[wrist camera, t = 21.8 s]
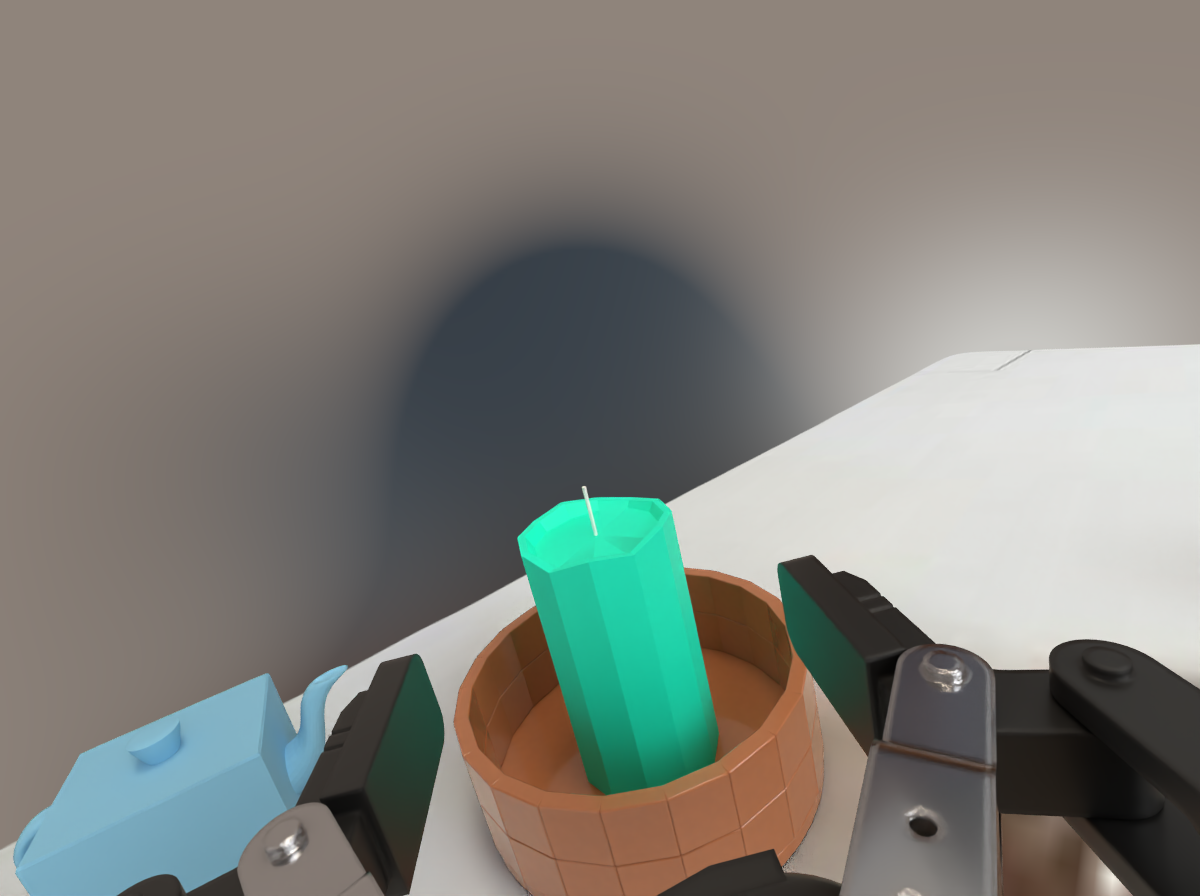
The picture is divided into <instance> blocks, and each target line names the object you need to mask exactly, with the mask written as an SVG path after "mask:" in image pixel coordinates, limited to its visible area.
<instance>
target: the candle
mask: <svg viewBox="0 0 1200 896" xmlns="http://www.w3.org/2000/svg"><path fill="white" fill-rule="evenodd" d="M582 490H583V494H584V497H585V499H582V500H574V501H567V502H561V503H560V504H558V505H557V506H555V507H554V508H552V509H551V510H549V511H548V512H546V513H545V514H543V515H542V516H541V517H539V518H538V519H536V520H535V521H533V522H532V524H530V526H528V527H527V529H525V530H524V531H523V532H522V533H521V534H520V535H519V536H518V543H519V548H520V552H521V557H522V560H523V563H524V566H525V570H526V573H527V577H528V580H529V584H530V587H531V590H532V594H533V597H534V600H535V604H536V607H537V610H538V614H539V617H540V620H541V624H542V627H543V631H544V634H545V637H546V641H547V644H548V647H549V651H550V654H551V657H552V661H553V664H554V668H555V671H556V674H557V678H558V681H559V684H560V688H561V691H562V694H563V698H564V701H565V704H566V708H567V711H568V715H569V718H570V721H571V725H572V728H573V731H574V735H575V738H576V741H577V745H578V748H579V752H580V755H581V758H582V762H583V765H584V768H585V772H586V775H587V778H588V782H590V783H591V784H592V785H593V786H595V787H596V788H597V789H599V790H600V791H601V792H603V793H604V794H605V795H610V794H616V793H622V792H627V791H633V790H639V789H644V788H650V787H656V786H661V785H664V784H667V783H669V782H671V781H673V780H676V779H678V778H680V777H683V776H685V775H687V774H689V773H692V772H694V771H696V770H699V769H701V768H703V767H705V766H708V765H710V764H712V763H715V758H716V751H717V744H718V737H719V730H718V726H717V721H716V716H715V712H714V707H713V702H712V698H711V693H710V688H709V684H708V679H707V674H706V670H705V665H704V660H703V656H702V651H701V646H700V642H699V637H698V632H697V628H696V623H695V618H694V614H693V609H692V604H691V600H690V595H689V590H688V586H687V581H686V576H685V572H684V567H683V562H682V558H681V553H680V548H679V544H678V539H677V534H676V530H675V525H674V520H673V516H672V511H671V510H670V509H669V508H668V507H667V506H666V505H665V504H664V503H663V502H661V500H659V499H652V498H635V497H597V498H588V494H587V490H586V487H585V486H583V487H582Z"/></svg>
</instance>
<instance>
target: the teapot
mask: <svg viewBox="0 0 1200 896" xmlns="http://www.w3.org/2000/svg"><path fill="white" fill-rule="evenodd" d="M347 668H348V666H347V665H343V666H340V667H337V668H334V669H332V670H330V671H328V672H326V673H324V674H322V675H321V676H319V677H318V678H316V679H315V680H314V681H313V682H312V683H311V684H310V685H309V686H308V687H307V689H306V691H305V692H304V695H303V698H302V701H301V724H300V729H299V732H298V734H296V732H295V729H294V727H293V725H292V723H291V721H290V718H289V716H288V714H287V712H286V710H285V707H284V705H283V703H282V701H281V699H280V697H279V694H278V692H277V690H276V688H275V686H274V683H273V681H272V679H271V677H270V675H269V674H268V673H266V674H264V675H261V676H259V677H257V678H254V679H252V680H250V681H247V682H245V683H243V684H240V685H238V686H235V687H233V688H231V689H229V690H226V691H224V692H222V693H220V694H217V695H215V696H212V697H210V698H208V699H205V700H203V701H201V702H198V703H196V704H194V705H191V706H189V707H187V708H184V709H182V710H180V711H178V712H175V713H173V714H171V715H168V716H166V717H164V718H161V719H159V720H157V721H155V722H153V723H150V724H148V725H145V726H143V727H141V728H138V729H136V730H134V731H132V732H129V733H127V734H125V735H122V736H120V737H118V738H116V739H113V740H111V741H109V742H106V743H104V744H102V745H100V746H97V747H95V748H93V749H91V750H88V751H86V752H84V753H82V754H80V755H79V758H78V759H77V761H76V763H75V765H74V767H73V768H72V770H71V772H70V774H69V775H68V777H67V779H66V781H65V782H64V784H63V786H62V788H61V790H60V791H59V793H58V795H57V797H56V798H55V800H54V802H53V804H52V805H51V806H49V807H48V808H46V809H44V810H43V811H41V812H40V813H39V814H38V815H36V816H35V817H34V818H33V819H32V820H31V821H30V822H29V824H28V825H27V826H26V827H25V829H24V830H23V832H22V833H21V835H20V837H19V839H18V841H17V843H16V846H15V849H14V856H13V859H14V864H15V866H16V873H15V874H16V875H17V877H18V878H19V880H20V881H21V883H22V884H23V886H24V887H25V889H26V890H27V892H28V893H29V895H30V896H117V895H119V894H120V893H122V892H123V891H125V890H126V889H128V888H129V887H131V886H133V885H134V884H136V883H138V882H140V881H142V880H145V879H147V878H150V877H153V876H156V875H161V874H170V875H174V876H175V877H177V878H178V880H179V881H180V883H181V885H182V886H183V888H184V890H185V892H186V893H188V892H190V891H192V890H194V889H196V888H198V887H199V886H201V885H203V884H205V883H207V882H209V881H211V880H213V879H215V878H217V877H219V876H221V875H223V874H225V873H227V872H229V871H231V870H233V869H234V868H236V867H238V863H239V860H240V857H241V855H242V853H243V851H244V849H245V848H246V846H247V845H248V843H249V842H250V841H251V839H252V838H253V837H254V836H255V835H256V834H257V833H258V832H259V831H260V830H261V829H262V828H263V827H264V826H265V825H266V824H267V823H269V822H270V821H271V820H273V819H274V818H275V817H277V816H278V815H280V814H282V813H283V812H285V811H287V810H289V809H291V808H293V807H295V806H296V804H297V802H298V799H299V797H300V795H301V793H302V791H303V789H304V787H305V785H306V783H307V781H308V779H309V777H310V775H311V773H312V771H313V769H314V767H315V765H316V763H317V761H318V759H319V757H320V755H321V753H322V752H324V746H325V722H324V708H325V701H326V697H327V694H328V693H329V691H330V689H331V687H332V685H333V684H334V683H335V682H336V681H337V680H338V678H339V677H340V676H341V675H342V674H343V673H344V672H345V671H346V670H347Z"/></svg>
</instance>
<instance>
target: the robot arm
mask: <svg viewBox="0 0 1200 896" xmlns="http://www.w3.org/2000/svg"><path fill="white" fill-rule="evenodd" d="M778 578H779V584H780V591H781V597H782V603H783V609H784V616H785V622H786V627H787V631H788V634H789V637H790V640H791V643H792V645H793V647H794V649H795V651H796V653H797V655H798V656H799V658H800V659H801V660H802V662H803V663H804V665H805V666H806V668H807V669H808V671H809V672H810V673H811V675H812V676H813V678H814V679H815V681H816V682H817V684H818V685H819V687H820V688H821V689H822V691H823V692H824V694H825V695H826V697H827V698H828V700H829V701H830V703H831V704H832V705H833V707H834V708H835V710H836V711H837V713H838V714H839V716H840V717H841V718H842V720H843V721H844V723H845V724H846V726H847V727H848V729H849V730H850V732H851V733H852V734H853V736H854V737H855V739H856V740H857V742H858V743H859V745H860V746H861V747H862V749H863V750H864V752H865V753H866V755H867V756H868V761H867V765H866V770H865V775H864V780H863V785H862V789H861V794H860V799H859V804H858V809H857V813H856V818H855V823H854V828H853V833H852V837H851V842H850V847H849V852H848V857H847V862H846V866H845V871H844V876H843V881H842V884H840V883H838V882H835V881H832V880H829V879H825V878H822V877H818V876H814V875H808V874H800V873H784V872H783V869H782V867H781V864H780V862H779V859H778V857H777V855H776V852H775V850H774V849H770V850H767V851H763V852H759V853H755V854H752V855H748V856H744V857H740V858H736V859H733V860H729V861H725V862H721V863H717V864H714V865H710V866H708V867H706V868H704V869H702V870H701V871H699V872H697V873H695V874H694V875H692V876H690V877H688V878H687V879H685V880H683V881H681V882H680V883H678V884H676V885H674V886H673V887H671V888H669V889H667V890H666V891H664V892H662V893H660V894H658V895H657V896H1003V857H1002V814H1001V813H1004V814H1024V815H1045V816H1062V817H1063V818H1064V819H1065V820H1066V821H1067V822H1068V824H1069V825H1070V826H1071V827H1072V828H1073V829H1074V830H1075V831H1076V832H1077V834H1078V835H1079V836H1080V837H1081V838H1082V839H1083V840H1084V841H1085V842H1086V844H1087V845H1088V846H1089V847H1090V848H1091V849H1092V850H1093V851H1094V853H1095V854H1096V855H1097V856H1098V857H1099V858H1100V859H1101V860H1102V861H1103V863H1104V864H1105V865H1106V866H1107V867H1108V868H1109V869H1110V870H1111V871H1112V873H1113V874H1114V875H1115V876H1116V877H1117V878H1118V879H1119V880H1120V881H1121V883H1122V884H1123V885H1124V886H1125V887H1126V888H1127V889H1128V890H1129V892H1130V893H1131V894H1132V895H1133V896H1200V689H1198V688H1197V687H1195V686H1194V685H1192V684H1191V683H1189V682H1188V681H1186V680H1185V679H1183V678H1182V677H1180V676H1179V675H1177V674H1176V673H1174V672H1173V671H1171V670H1170V669H1168V668H1167V667H1165V666H1164V665H1162V664H1161V663H1159V662H1158V661H1156V660H1154V659H1153V658H1151V657H1150V656H1148V655H1146V654H1144V653H1142V652H1140V651H1138V650H1136V649H1133V648H1130V647H1128V646H1124V645H1121V644H1117V643H1113V642H1108V641H1101V640H1089V639H1085V640H1073V641H1068V642H1065V643H1062V644H1060V645H1058V646H1056V647H1055V648H1054V649H1053V650H1052V651H1051V653H1050V656H1049V670H995V669H992V668H991V667H990V665H989V664H988V663H987V662H986V661H985V660H984V659H982V658H981V657H979V656H978V655H976V654H974V653H972V652H970V651H968V650H965V649H963V648H959V647H956V646H951V645H945V644H936V643H934V642H933V641H932V640H931V639H930V638H929V637H928V636H927V635H926V634H924V633H923V632H922V631H921V630H920V629H919V628H918V627H917V626H916V625H915V624H913V623H912V622H911V621H910V620H909V619H908V618H907V617H906V616H905V615H904V614H902V613H901V612H900V611H899V610H898V609H897V608H896V607H895V608H894V607H893V605H892V604H891V603H890V602H889V601H888V600H887V599H886V598H885V597H884V596H881V595H880V593H879V592H878V591H877V590H876V589H875V588H874V587H873V586H872V585H870V584H869V583H868V582H867V581H866V580H864V579H862V578H859V577H857V576H855V575H852V574H850V573H847V572H845V571H841V572H837V573H833V574H832V573H831V572H830V571H829V570H828V569H827V568H826V567H825V566H824V565H823V564H822V563H821V562H820V561H819V560H818V559H817V558H816V557H815V556H813V555H809V556H805V557H801V558H797V559H793V560H789V561H785V562H781V563H779V564H778ZM443 744H444V723H443V717H442V713H441V710H440V707H439V704H438V702H437V699H436V696H435V693H434V691H433V688H432V685H431V682H430V680H429V677H428V674H427V671H426V669H425V666H424V663H423V661H422V659H421V657H420V656H419V655H418V654H413V655H409V656H405V657H401V658H397V659H393V660H389V661H385V662H382V663H381V664H380V665H379V667H378V669H377V671H376V673H375V676H374V678H373V680H372V682H371V685H370V687H369V689H368V690H367V691H363V692H359V693H358V694H357V696H356V697H355V698H354V699H353V700H352V701H351V702H350V703H349V704H348V705H347V706H346V707H345V709H344V710H343V711H342V712H341V714H340V716H339V718H338V720H337V722H336V724H335V726H334V728H333V730H332V735H331V736H329V738H328V740H327V742H326V744H325V746H324V752H322V753H321V755H320V757H319V759H318V761H317V763H316V765H315V767H314V769H313V771H312V773H311V775H310V777H309V779H308V781H307V783H306V785H305V787H304V789H303V791H302V793H301V795H300V797H299V799H298V802H297V804H296V806H295V807H293V808H291V809H289V810H287V811H285V812H283V813H282V814H280V815H278V816H277V817H275V818H274V819H273V820H271V821H270V822H269V823H267V824H266V825H265V826H264V827H263V828H262V829H261V830H260V831H259V832H258V833H257V834H256V835H255V836H254V837H253V838H252V839H251V841H250V842H249V843H248V845H247V846H246V848H245V849H244V851H243V853H242V855H241V857H240V860H239V863H238V867H236V868H234V869H233V870H231V871H229V872H227V873H225V874H223V875H221V876H219V877H217V878H215V879H213V880H211V881H209V882H207V883H205V884H203V885H201V886H199V887H198V888H196V889H194V890H192V891H190V892H188V893H186V892H185V890H184V888H183V886H182V885H181V883H180V881H179V880H178V878H177V877H175V876H174V875H170V874H161V875H156V876H153V877H150V878H147V879H145V880H142V881H140V882H138V883H136V884H134V885H133V886H131V887H129V888H128V889H126V890H125V891H123V892H122V893H120V894H119V895H117V896H403V895H407V894H409V892H410V888H411V884H412V879H413V875H414V871H415V866H416V862H417V857H418V853H419V849H420V844H421V840H422V836H423V831H424V827H425V823H426V818H427V814H428V809H429V805H430V801H431V796H432V792H433V788H434V783H435V779H436V775H437V770H438V766H439V761H440V757H441V753H442V748H443Z"/></svg>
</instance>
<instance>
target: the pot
mask: <svg viewBox="0 0 1200 896" xmlns="http://www.w3.org/2000/svg"><path fill="white" fill-rule="evenodd" d="M684 572H685V576H686V581H687V586H688V590H689V595H690V600H691V604H692V609H693V614H694V618H695V623H696V628H697V632H698V637H699V642H700V646H701V651H702V656H703V660H704V665H705V670H706V674H707V679H708V684H709V688H710V693H711V698H712V702H713V707H714V712H715V716H716V721H717V726H718V730H719V737H718V744H717V751H716V758H715V763H712V764H710V765H708V766H705V767H703V768H701V769H699V770H696V771H694V772H692V773H689V774H687V775H685V776H683V777H680V778H678V779H676V780H673V781H671V782H669V783H667V784H664V785H661V786H656V787H650V788H644V789H639V790H633V791H627V792H622V793H616V794H610V795H605V794H604V793H603V792H601V791H600V790H599V789H597V788H596V787H595V786H593V785H592V784H591V783H590V782H588V778H587V775H586V772H585V768H584V765H583V762H582V758H581V755H580V752H579V748H578V745H577V741H576V738H575V735H574V731H573V728H572V725H571V721H570V718H569V715H568V711H567V708H566V704H565V701H564V698H563V694H562V691H561V688H560V684H559V681H558V678H557V674H556V671H555V668H554V664H553V661H552V657H551V654H550V651H549V647H548V644H547V641H546V637H545V634H544V631H543V627H542V624H541V620H540V617H539V614H538V610H537V607H536V606H534V607H532V608H531V609H529V610H528V611H527V612H525V613H524V614H523V615H521V616H520V617H519V618H517V619H516V620H515V621H513V622H512V623H510V624H509V625H508V626H506V627H505V628H504V629H502V631H500V632H499V633H498V634H497V635H496V637H495V638H494V639H493V640H492V641H491V642H490V643H489V644H488V645H487V646H486V647H485V649H484V650H483V651H482V652H481V653H480V654H479V655H478V656H477V658H476V659H475V661H474V662H473V664H472V666H471V668H470V670H469V672H468V674H467V675H466V677H465V679H464V681H463V683H462V685H461V686H460V689H459V692H458V699H457V705H456V711H455V717H454V728H455V731H456V735H457V738H458V742H459V745H460V749H461V752H462V756H463V759H464V762H465V764H466V767H467V770H468V773H469V775H470V778H471V781H472V783H473V786H474V789H475V792H476V794H477V797H478V800H479V802H480V805H481V808H482V811H483V813H484V816H485V819H486V822H487V824H488V827H489V830H490V833H491V835H492V838H493V841H494V843H495V846H496V848H497V850H498V851H499V853H500V854H501V856H502V858H503V860H504V862H505V864H506V866H507V868H508V869H509V870H510V872H511V873H512V874H513V875H514V877H515V878H516V879H517V881H518V882H519V883H520V884H521V885H522V886H523V887H524V888H525V889H526V890H527V891H529V892H530V893H531V894H532V895H533V896H657V895H658V894H660V893H662V892H664V891H666V890H667V889H669V888H671V887H673V886H674V885H676V884H678V883H680V882H681V881H683V880H685V879H687V878H688V877H690V876H692V875H694V874H695V873H697V872H699V871H701V870H702V869H704V868H706V867H708V866H710V865H714V864H717V863H721V862H725V861H729V860H733V859H736V858H740V857H744V856H748V855H752V854H755V853H759V852H763V851H767V850H770V849H774V850H775V852H776V855H777V857H778V859H779V862H780V864H781V867H782V866H783V865H784V864H785V863H786V862H787V860H788V859H789V858H790V857H791V855H792V854H793V853H794V851H795V850H796V849H797V848H798V846H799V845H800V844H801V842H802V840H803V838H804V836H805V834H806V833H807V831H808V829H809V827H810V825H811V824H812V821H813V819H814V816H815V813H816V810H817V808H818V805H819V802H820V797H821V792H822V786H823V781H824V759H823V753H824V747H823V741H822V734H821V728H820V721H819V715H818V708H817V703H816V696H815V689H814V683H813V677H812V675H811V673H810V672H809V671H808V669H807V668H806V666H805V665H804V663H803V662H802V660H801V659H800V658H799V656H798V655H797V653H796V651H795V649H794V647H793V645H792V643H791V640H790V637H789V634H788V631H787V627H786V622H785V616H784V609H783V603H782V602H781V601H780V600H779V599H778V598H777V597H776V596H774V595H772V594H770V593H769V592H767V591H765V590H764V589H762V588H760V587H759V586H757V585H755V584H754V583H752V582H750V581H747V580H744V579H741V578H737V577H734V576H731V575H727V574H724V573H721V572H717V571H712V570H702V569H692V568H684Z"/></svg>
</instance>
